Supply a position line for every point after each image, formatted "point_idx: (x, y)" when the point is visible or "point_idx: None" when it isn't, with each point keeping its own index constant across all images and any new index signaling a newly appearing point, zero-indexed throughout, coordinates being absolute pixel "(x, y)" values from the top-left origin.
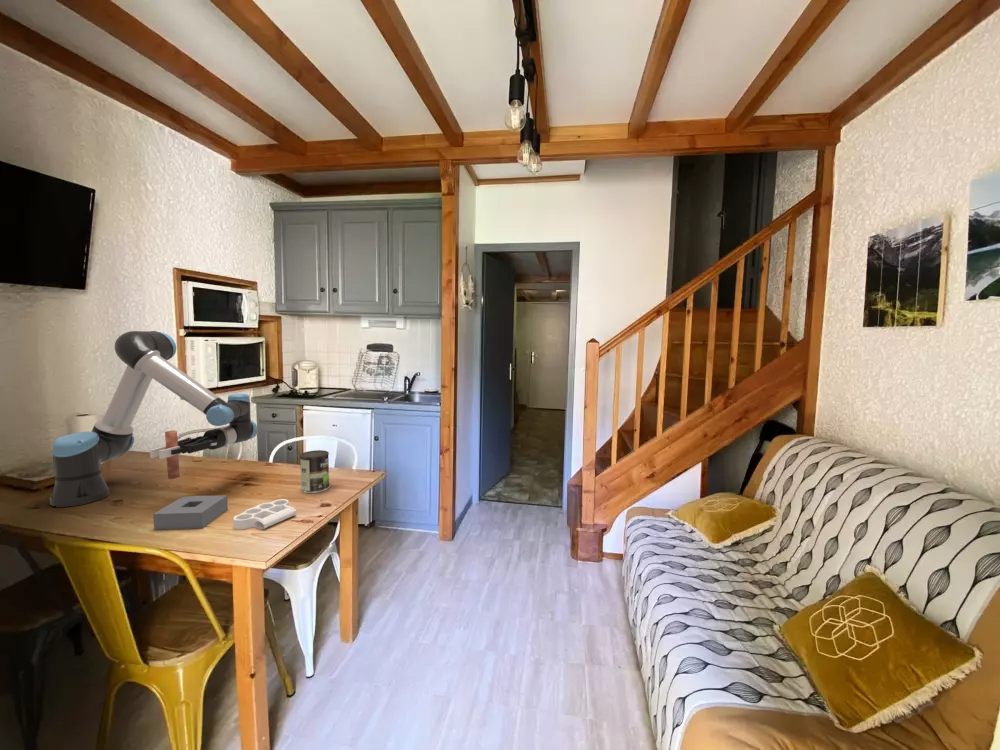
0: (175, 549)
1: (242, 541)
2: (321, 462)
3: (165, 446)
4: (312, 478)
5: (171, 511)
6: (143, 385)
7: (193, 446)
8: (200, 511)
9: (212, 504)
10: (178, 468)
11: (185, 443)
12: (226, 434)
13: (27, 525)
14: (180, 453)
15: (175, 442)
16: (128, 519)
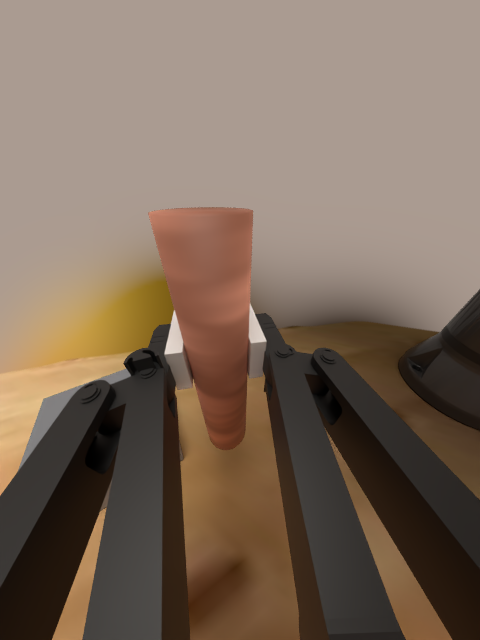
0: (77, 359)
1: None
2: None
3: (249, 320)
4: None
5: (126, 376)
6: None
7: (56, 431)
8: (50, 401)
9: (31, 445)
10: (206, 423)
11: (296, 496)
12: None
13: (336, 325)
14: (177, 388)
15: (175, 312)
16: (248, 379)
